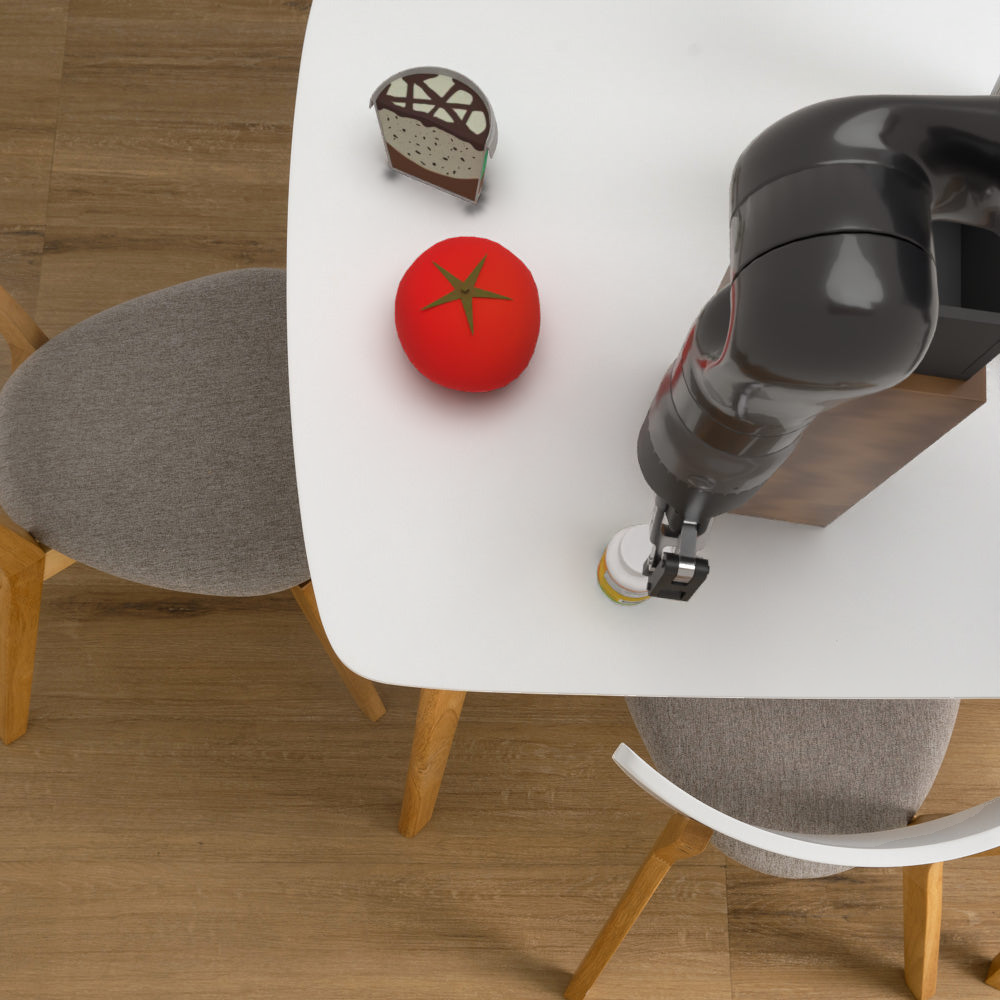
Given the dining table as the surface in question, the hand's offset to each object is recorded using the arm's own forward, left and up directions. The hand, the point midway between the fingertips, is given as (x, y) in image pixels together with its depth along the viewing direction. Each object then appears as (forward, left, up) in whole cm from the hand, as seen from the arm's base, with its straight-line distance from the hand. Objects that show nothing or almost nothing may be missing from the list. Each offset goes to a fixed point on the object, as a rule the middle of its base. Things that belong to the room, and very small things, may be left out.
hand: (663, 512), depth 66 cm
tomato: (+17, -20, -18) cm, 32 cm away
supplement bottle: (0, 0, -18) cm, 18 cm away
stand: (-10, -14, -18) cm, 25 cm away
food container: (+22, -39, -18) cm, 48 cm away
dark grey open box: (-10, -14, +10) cm, 20 cm away
